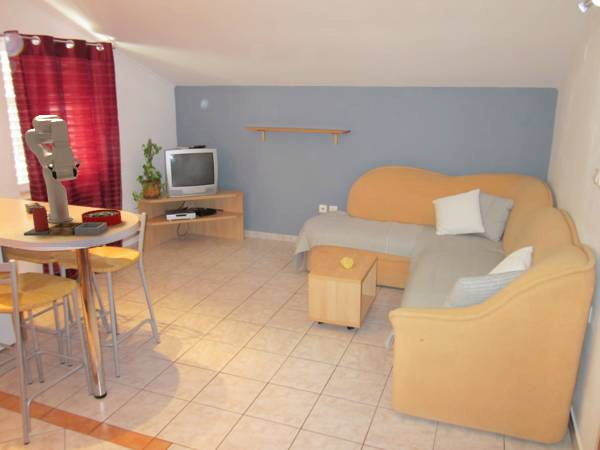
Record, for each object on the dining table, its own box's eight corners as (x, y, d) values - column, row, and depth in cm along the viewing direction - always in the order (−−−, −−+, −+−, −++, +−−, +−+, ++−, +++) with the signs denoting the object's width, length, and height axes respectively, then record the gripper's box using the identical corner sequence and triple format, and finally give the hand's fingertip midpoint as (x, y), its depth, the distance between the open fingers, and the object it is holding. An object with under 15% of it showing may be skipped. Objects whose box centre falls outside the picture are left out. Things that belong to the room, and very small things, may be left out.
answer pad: (24, 235, 258) (23, 233, 257) (37, 229, 269) (36, 227, 269) (47, 235, 257) (47, 233, 257) (59, 229, 269) (59, 227, 268)
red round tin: (103, 207, 292) (128, 211, 283) (104, 217, 294) (129, 221, 284) (73, 215, 276) (98, 219, 266) (74, 225, 277) (99, 229, 267)
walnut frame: (49, 234, 257) (48, 228, 256) (61, 229, 268) (60, 222, 268) (72, 235, 257) (71, 228, 256) (82, 229, 268) (82, 222, 267)
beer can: (37, 228, 266) (34, 206, 263) (51, 228, 267) (48, 205, 264) (32, 231, 260) (29, 208, 257) (46, 231, 260) (43, 208, 257)
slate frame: (75, 235, 257) (74, 228, 256) (85, 229, 268) (84, 222, 267) (97, 235, 256) (97, 228, 255) (107, 229, 267) (106, 222, 266)
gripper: (44, 146, 254) (49, 180, 258) (81, 144, 264) (84, 176, 269) (41, 145, 260) (45, 178, 264) (76, 143, 270) (80, 175, 274)
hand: (65, 177), depth 266 cm, fingers open, 9 cm apart
